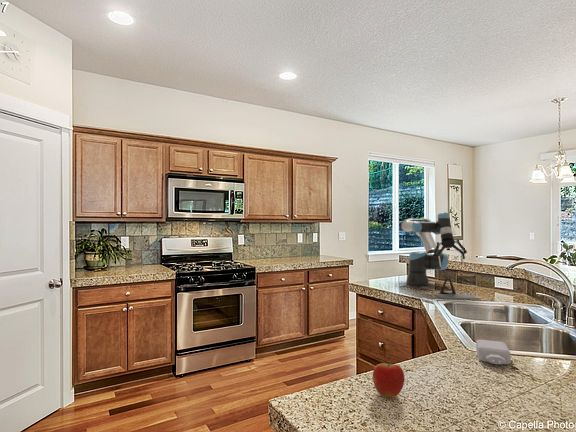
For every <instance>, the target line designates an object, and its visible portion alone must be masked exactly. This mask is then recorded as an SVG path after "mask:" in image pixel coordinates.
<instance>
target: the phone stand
mask: <svg viewBox="0 0 576 432" xmlns="http://www.w3.org/2000/svg"><path fill="white" fill-rule="evenodd" d="M447 275H448V276H449V277H447ZM451 277H452V275H451V273H446V275H445V280H444V282H443V284H442V287H441V290H440V292H439V294H457V292H456V289H455V286H454V284H453V281H452V278H451ZM447 281H448V282H449V285H450V289H451V291H445V288H446V284H447Z"/></svg>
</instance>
